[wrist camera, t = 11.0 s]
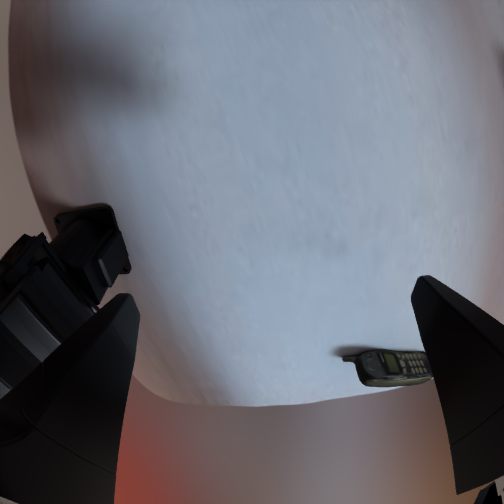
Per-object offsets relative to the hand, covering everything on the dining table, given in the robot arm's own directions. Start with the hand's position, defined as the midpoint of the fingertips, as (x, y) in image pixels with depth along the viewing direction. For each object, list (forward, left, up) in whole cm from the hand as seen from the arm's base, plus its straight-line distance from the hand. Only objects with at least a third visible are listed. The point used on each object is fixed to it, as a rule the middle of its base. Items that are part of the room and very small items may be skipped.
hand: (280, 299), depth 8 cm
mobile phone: (+17, -25, -13) cm, 33 cm away
